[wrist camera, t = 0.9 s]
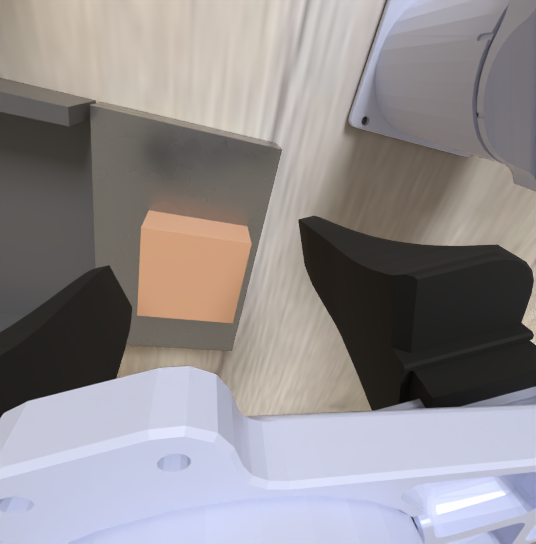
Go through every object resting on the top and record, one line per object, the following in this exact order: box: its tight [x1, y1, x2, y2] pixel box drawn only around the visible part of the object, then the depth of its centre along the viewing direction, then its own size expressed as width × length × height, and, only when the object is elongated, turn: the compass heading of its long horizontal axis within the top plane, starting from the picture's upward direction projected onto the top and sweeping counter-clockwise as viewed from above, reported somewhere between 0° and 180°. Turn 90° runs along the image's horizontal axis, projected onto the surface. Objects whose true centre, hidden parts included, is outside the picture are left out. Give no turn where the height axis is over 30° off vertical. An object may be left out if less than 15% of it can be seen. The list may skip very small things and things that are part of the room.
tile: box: [137, 210, 252, 323], centre depth 20 cm, size 6×6×2 cm
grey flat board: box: [90, 102, 282, 351], centre depth 22 cm, size 10×16×2 cm, turn 166°
